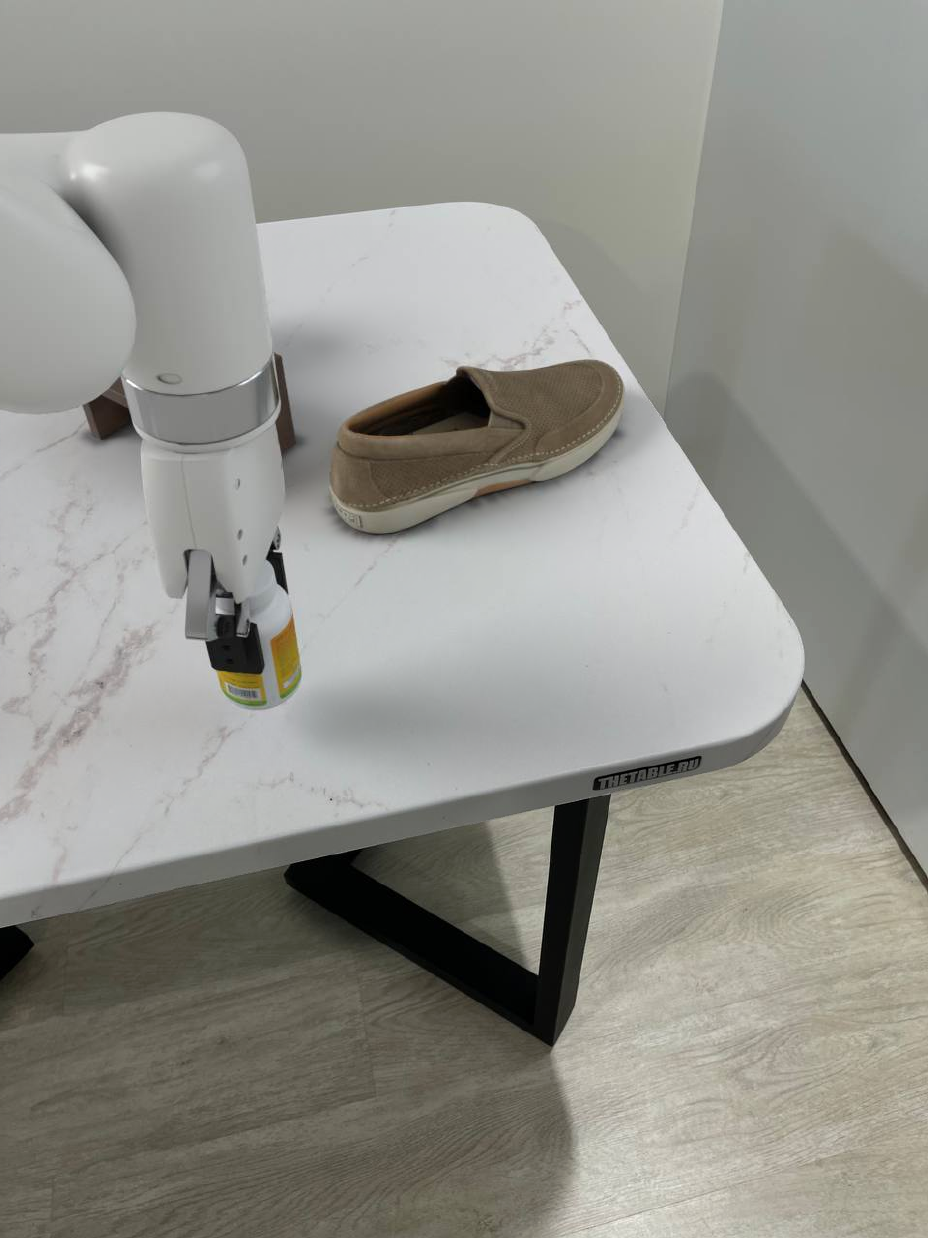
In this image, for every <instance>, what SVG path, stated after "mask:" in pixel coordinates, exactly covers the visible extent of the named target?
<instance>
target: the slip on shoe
mask: <svg viewBox="0 0 928 1238" xmlns="http://www.w3.org/2000/svg"><path fill="white" fill-rule="evenodd" d="M625 401H626V387H625V382H624V381H623V378H622V377H621V376H620V374H619V372H618V371H617V370H616V368H615V367H613V366H611V365H610V364H608V363H607V362H605V361H601V360H598V359H588V358H587V359H586V358H585V359H577V360H576V359H575V360H571V361H565V362H559V363H555V364H551V365H549V366H543V367H538V368H532V369H521V370H509V371H508V370H507V371H502V370H501V371H500V370H499V371H498V370H489V369H484V368H480V367H475V366H474V367H473V366H471V365H461V366H459V367H457V369H456V370H455V375H453V376H452V377H450V378H449V379H447V380H441V381H437V382H435V383H431V384H428V385H425V386H422V387H418V388H416V389H412V390H409V391H406V392H404V393H401V394H399V395H395V396H393V397H391V398H388V399H385V400H382V401H380V402H377V403H375V404H372V405H370V406H368V407H367V408H364V409H362V410H360V411H358V412H357V413H354V415H352V416H351V415H350V417H348V418H347V419H346V420H345V421H344V422H342V424H341V425H340V428H339V430H338V432H337V433H338V434H337V440H336V442H335V443H334V445H333V448H332V455H331V456H332V458H331V461H330V467H329V491H330V497H331V501H332V504H333V507H334V508H335V510H336V512H337V514H338V515H339V516H340V518H341V519H342V520H343V521H344V522H345V523H346V524H348V525H349V526H350V527H351V528H353V529H355V530H358V531H360V532H365V533H368V534H391V533H397V532H401V531H404V530H407V529H409V528H411V527H414V526H417V525H419V524H421V523H423V522H425V521H427V520H429V519H431V518H433V517H435V516H437V515H440V514H442V513H443V512H446V511H448V510H450V509H453V508H455V507H457V506H459V505H461V504H463V503H465V502H467V501H469V500H473V499H475V498H477V497H480V496H483V495H486V494H490V493H495V492H498V491H502V490H507V489H511V488H515V487H518V486H522V485H526V484H530V483H532V482H544V481H548V480H551V479H554V478H557V477H560V476H562V475H565V474H566V473H568V472H571V471H572V470H574V469H576V468H577V467H579V466H580V465H582V464H584V463H586V462H587V460H589V459H590V458H591V457H592V456H594V455H595V454H596V453H597V452H598V451H599V450H600V449H601V448H603V446H604V445H605V444H606V443H607V442H608V440H610V438H611V437H612V435H613V434H614V432H615V430H616V429H617V427H618V425H619V422H620V421H621V417H622V414H623V410H624V407H625Z"/></svg>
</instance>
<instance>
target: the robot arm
mask: <svg viewBox="0 0 928 1238" xmlns="http://www.w3.org/2000/svg"><path fill="white" fill-rule="evenodd" d="M255 213H256V211H255V203H254V198H253V189H252V183H251V175H250V172H249V166H248V161H247V158H246V155H245V152H244V149H243V148H242V146H241V144H240V143H239V141H238V139H237V138H236V137H235V135H233V133H232V132H231V131H230V130H229V129H227V128H226V127H225V126H223V125H222V124H220V123H218V122H217V121H215V120H213V119H211V118H208V117H206V116H203V115H198V114H194V113H186V112H180V111H179V112H178V111H148V112H139V113H133V114H128V115H123V116H120V117H116V118H113V119H110V120H107V121H104V122H102V123H100V124H97V125H95V126H93V127H92V128H90V129H85V130H74V131H60V132H59V131H57V132H31V133H30V132H29V133H28V132H27V133H26V132H25V133H0V411H3V412H8V413H9V412H10V413H12V414H13V413H14V414H23V415H37V416H38V415H48V414H58V413H59V414H60V413H63V412H66V411H70V410H73V409H79V408H80V407H83V406H82V405H84V404H86V403H88V402H90V401H92V400H94V399H96V398H97V397H98V396H100V395H101V394H102V393H104V392H105V391H106V390H108V389H109V388H110V387H111V385H112V384H113V383H114V382H115V381H116V380H117V379H118V378H119V377H120V376H121V380H122V384H123V388H124V392H125V395H126V399H127V403H128V407H129V410H130V414H131V418H132V420H131V422H132V425H133V428H134V429H135V432H136V433H137V434H138V436H140V437H141V438H142V440H141V445H140V465H141V479H142V491H143V497H144V504H145V511H146V518H147V521H148V522H147V523H148V528H149V533H150V537H151V543H152V548H153V552H154V557H155V562H156V566H157V571H158V575H159V579H160V582H161V587H162V588H163V591H164V593H165V594H166V596H167V597H168V598H170V599H180V600H182V599H183V597H184V595H185V593H186V606H185V607H186V608H185V623H184V637H185V639H186V640H188V641H189V640H190V641H201V642H205V647H206V651H207V654H208V658H209V663H210V667H211V668H212V669H213V670H215V671H216V672H217V671H226V672H232V673H247V674H262V672H263V670H264V667H265V663H264V658H263V653H262V648H261V642H260V637H259V632H258V627H257V624H255V623H253V622H250V609H249V596H250V595H251V593H252V591H253V589H254V587H255V585H256V583H257V580H258V577H259V575H260V572H261V570H262V567H263V564H264V562H265V559H266V560H267V561H268V562H269V563H270V564H271V565H272V567H273V569H274V573H275V578H276V582H277V584H278V585H279V586H281V587H282V588H283V589H284V590H285V592H286V593H287V594H288V595H289V594H290V593H289V588H288V581H287V575H286V570H285V562H284V557H283V555H284V554H283V552H282V551H281V552H280V551H279V550H280V548H281V545H282V534H281V531H280V528H279V523H280V520H281V517H282V514H283V512H284V511H283V510H284V507H285V499H286V484H285V483H286V482H285V481H286V480H285V472H284V464H283V458H282V453H281V451H280V445H279V440H278V434H277V429H276V425H275V421H276V419H277V418H278V415H279V413H280V410H281V400H280V394H279V387H278V380H277V373H276V366H275V358H274V353H275V352H274V345H273V338H272V331H271V323H270V316H269V314H270V313H269V308H268V303H267V301H268V300H267V293H266V286H265V279H264V271H263V265H262V257H261V256H262V255H261V250H260V249H261V248H260V242H259V233H258V227H257V219H256V214H255ZM186 590H187V591H186ZM216 598H227V599H233V600H234V615H227V614H216V613H215V608H216Z"/></svg>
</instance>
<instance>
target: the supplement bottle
mask: <svg viewBox="0 0 928 1238" xmlns="http://www.w3.org/2000/svg"><path fill="white" fill-rule="evenodd" d="M289 596H290V595H289V594H287V593H286V592H285V590H284V589H283V588H282V587H281V586H279V585H278V584H277V582H276V578H275V573H274V569H273V567H272V565H271V564H270V563H269V562H268V561H267V560H266V559H265V562H264V564H263V567H262V570H261V572H260V575H259V577H258V580H257V583H256V585H255V587H254V589H253V591H252V593H251V595H250V596H249V609H250V622H253V623H255V624H257V627H258V632H259V637H260V642H261V648H262V653H263V658H264V663H265V667H264V670H263V672H262V674H247V673H232V672H226V671H217V670H216V675H217V679H218V682H219V685H220V689H221V692H222V694H223V696H224V697H225V699H227V700H228V701H229V702H230V703H232V704H233V705H234V706H236V707H238V708H240V709H244V710H248V711H266V710H270V709H273V708H276V707H278V706H280V705H283V704H284V703H285V702H287V701H288V700H289V699H291V698H292V697H293V696H294V695H295V694H296V692H297V691H298V689H299V687H300V685H301V683H302V677H303V675H302V673H303V672H302V665H301V664H302V663H301V658H300V651H299V645H298V639H297V638H298V637H297V632H296V626H295V619H294V613H293V607H292V603H291V599H290V597H289ZM215 613H216V614H227V615H234V600H233V599H227V598H216V608H215Z"/></svg>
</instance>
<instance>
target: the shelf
mask: <svg viewBox="0 0 928 1238" xmlns="http://www.w3.org/2000/svg"><path fill="white" fill-rule="evenodd" d="M274 358H275V366H276V373H277V380H278V387H279V394H280V400H281V410H280V413H279V415H278V418H277V419H276V421H275V425H276V429H277V434H278V440H279V445H280V451H281V454H283V453H284V452H286V451H287V450H289V449H290V448H291V447H292V446H294V445H295V444H296V443H297V440H296V434H295V429H294V423H293V416H292V411H291V404H290V398H289V392H288V387H287V380H286V375H285V374H286V373H285V367H284V361H283V356H282V355H280V354H279V353H276V352H274ZM81 407H82V409H83V412H84V414H85V418H86V421H87V424H88V427H89V429H90V432H91V435H92V436H93V437H95V438H96V439H98V440H103V439H104V438H106V437H107V436H109V435H110V434H112V433H115V431H117V430H118V429H120V428H122V427H123V426H125V425H127V424H128V423H129V422H132V418H131V414H130V410H129V407H128V403H127V399H126V395H125V392H124V388H123V384H122V380H121V376H120V377H119V378H118V379H117V380H116V381H115V382H114V383H113V384H112V385H111V387H110V388H109V389H108V390H106V391H105V392H104V393H102V394H101V395H100V396H98V397H97V398H96V399H94V400H92V401H90V402H88V403H86V404H84V405H82V406H81Z"/></svg>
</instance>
